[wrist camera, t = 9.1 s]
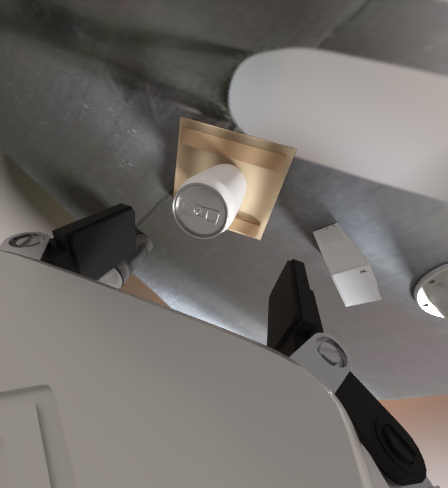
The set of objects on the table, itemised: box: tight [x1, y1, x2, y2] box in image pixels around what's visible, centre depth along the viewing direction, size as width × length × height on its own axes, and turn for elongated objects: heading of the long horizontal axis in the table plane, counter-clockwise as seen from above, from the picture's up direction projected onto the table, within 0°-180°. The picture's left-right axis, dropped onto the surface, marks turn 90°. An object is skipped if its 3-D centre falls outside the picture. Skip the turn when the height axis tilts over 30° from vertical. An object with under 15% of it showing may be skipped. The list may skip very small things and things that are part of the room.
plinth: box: [172, 117, 297, 240], centre depth 29 cm, size 16×14×6 cm
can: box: [172, 164, 247, 239], centre depth 23 cm, size 6×6×12 cm
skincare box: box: [313, 223, 381, 307], centre depth 27 cm, size 6×4×12 cm
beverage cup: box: [97, 234, 153, 289], centre depth 34 cm, size 7×7×20 cm
